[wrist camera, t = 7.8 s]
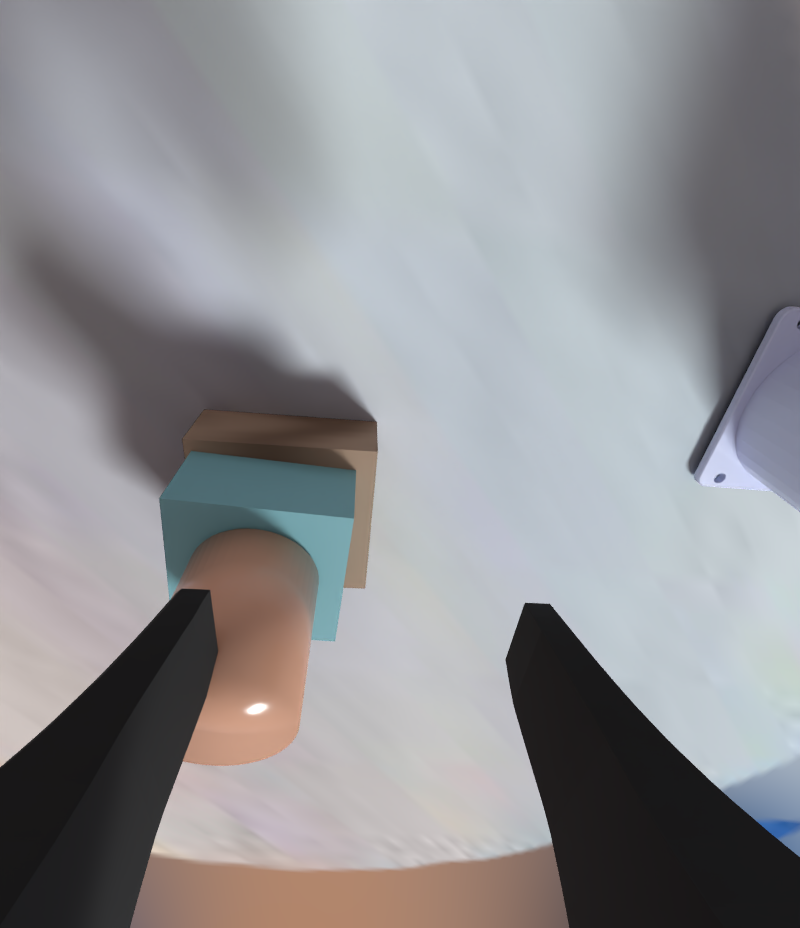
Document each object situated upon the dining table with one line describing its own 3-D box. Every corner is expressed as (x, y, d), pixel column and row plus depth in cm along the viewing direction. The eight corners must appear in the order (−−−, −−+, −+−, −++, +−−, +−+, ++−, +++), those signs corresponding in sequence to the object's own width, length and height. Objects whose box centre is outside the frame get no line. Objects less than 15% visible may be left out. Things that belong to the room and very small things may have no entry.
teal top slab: (356, 470, 18) (354, 518, 15) (339, 584, 21) (335, 641, 18) (190, 450, 17) (159, 498, 14) (197, 572, 20) (172, 630, 17)
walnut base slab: (376, 417, 20) (377, 451, 17) (365, 544, 24) (365, 588, 21) (207, 405, 19) (182, 439, 17) (221, 538, 23) (202, 582, 20)
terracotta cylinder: (336, 550, 16) (322, 690, 11) (297, 632, 18) (272, 776, 14) (203, 512, 15) (132, 650, 10) (177, 603, 17) (110, 750, 12)
